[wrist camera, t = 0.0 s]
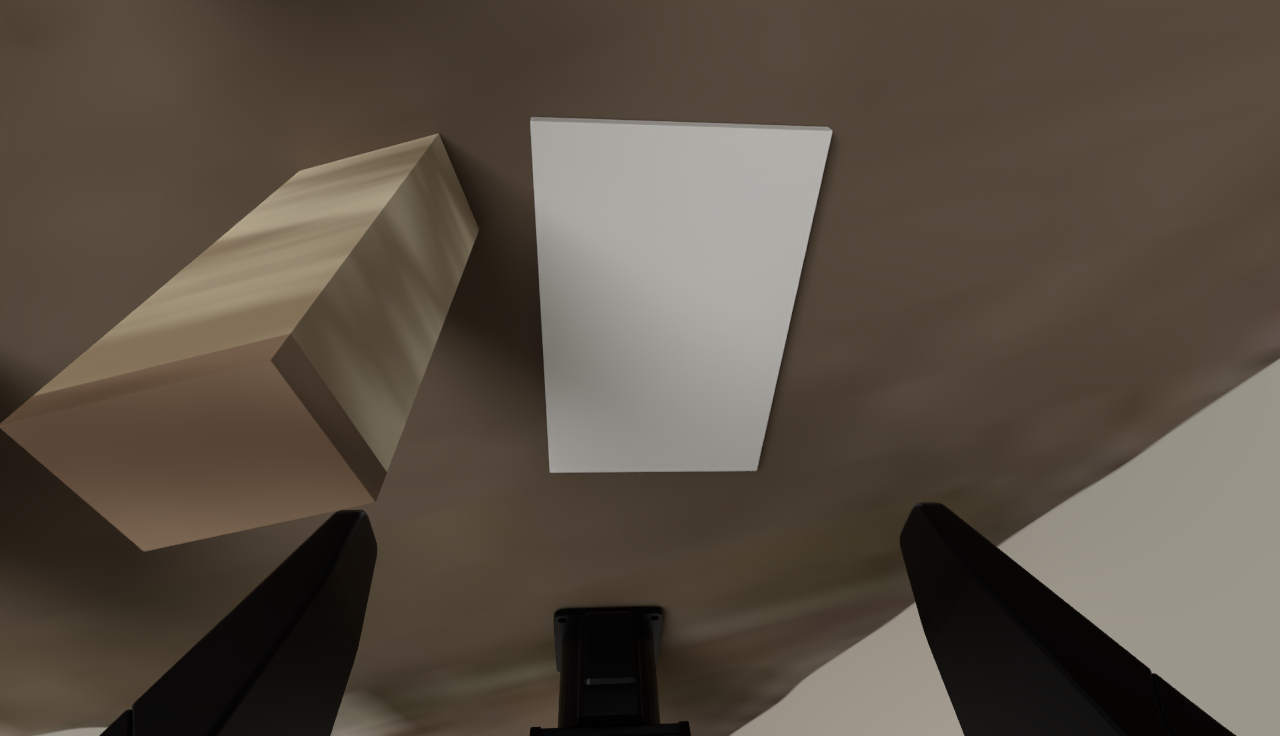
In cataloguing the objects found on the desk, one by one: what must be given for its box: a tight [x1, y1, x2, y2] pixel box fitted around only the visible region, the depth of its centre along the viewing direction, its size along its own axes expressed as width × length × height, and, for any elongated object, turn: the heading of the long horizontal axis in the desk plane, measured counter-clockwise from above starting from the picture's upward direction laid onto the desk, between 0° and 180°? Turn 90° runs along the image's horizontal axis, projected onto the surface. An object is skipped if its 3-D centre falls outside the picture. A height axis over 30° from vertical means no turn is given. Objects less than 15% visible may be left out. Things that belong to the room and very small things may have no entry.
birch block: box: [0, 133, 479, 552], centre depth 16 cm, size 4×5×13 cm
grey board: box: [530, 117, 832, 473], centre depth 25 cm, size 16×10×1 cm, turn 177°
